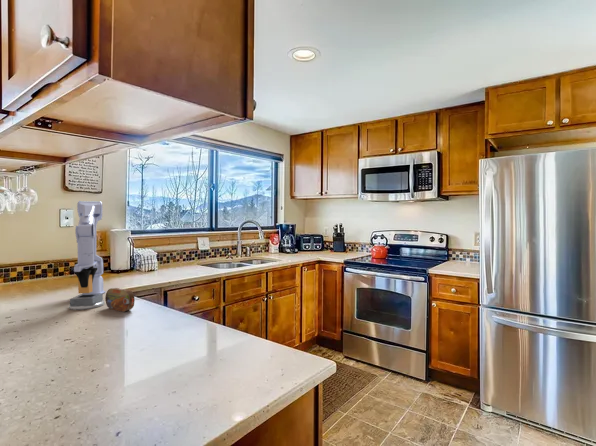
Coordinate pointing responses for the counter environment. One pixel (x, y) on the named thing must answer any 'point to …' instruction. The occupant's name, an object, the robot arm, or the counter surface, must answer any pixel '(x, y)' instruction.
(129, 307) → the tin
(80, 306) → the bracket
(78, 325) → the counter surface
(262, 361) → the counter surface
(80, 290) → the tan rectangular prism
